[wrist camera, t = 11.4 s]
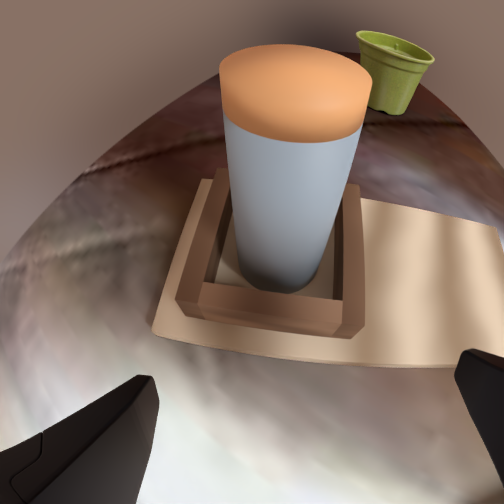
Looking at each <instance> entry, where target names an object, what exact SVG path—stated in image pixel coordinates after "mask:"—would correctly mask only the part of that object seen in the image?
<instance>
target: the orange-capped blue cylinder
mask: <svg viewBox="0 0 504 504" xmlns="http://www.w3.org/2000/svg"><path fill="white" fill-rule="evenodd" d="M219 72H220V83H221V95H222V106H223V117H224V127H225V138H226V149H227V159H228V169H229V179H230V189H231V199H232V208H233V218H234V227H235V237H236V246H237V255H238V263H239V268H240V270H241V273H242V274H243V276H244V277H245V279H246V280H247V281H248V282H249V283H250V284H251V285H252V286H254V287H255V288H257V289H259V290H262V291H269V292H276V293H284V294H290V293H294V292H297V291H299V290H301V289H303V288H304V287H305V286H307V285H308V284H309V283H310V282H311V281H312V280H313V278H314V277H315V275H316V273H317V270H318V267H319V264H320V262H321V259H322V256H323V253H324V250H325V247H326V244H327V241H328V238H329V235H330V232H331V229H332V226H333V223H334V220H335V217H336V214H337V211H338V208H339V205H340V201H341V198H342V195H343V192H344V188H345V185H346V182H347V178H348V175H349V171H350V168H351V165H352V161H353V158H354V154H355V150H356V147H357V143H358V139H359V136H360V132H361V128H362V124H363V120H364V116H365V112H366V108H367V104H368V100H369V96H370V92H371V87H372V78H371V76H370V75H369V73H368V72H367V71H366V70H365V69H364V68H363V67H361V66H360V65H359V64H357V63H356V62H354V61H352V60H350V59H348V58H346V57H344V56H341V55H339V54H336V53H333V52H330V51H326V50H322V49H319V48H313V47H308V46H300V45H287V44H286V45H285V44H284V45H283V44H275V45H262V46H256V47H250V48H246V49H243V50H240V51H237V52H235V53H233V54H231V55H229V56H227V57H226V58H225V59H224V60H223V61H222V62H221V64H220V66H219Z"/></svg>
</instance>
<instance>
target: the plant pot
mask: <svg viewBox="0 0 504 504" xmlns="http://www.w3.org/2000/svg"><path fill="white" fill-rule="evenodd" d="M356 37H357V39H358V40H359V48H360V50H361V67H363V68H364V69H365V70H366V71H367V72H368V73H369V75H370V76H371V78H372V87H371V92H370V96H369V100H368V104H367V106H369V107H371V108H372V109H375V110H382V111H385V112H387V113H388V114H391V115H400V114H403V113H404V112H405V110H406V108H407V106H408V104H409V102H410V100H411V98H412V95H413V93H414V91H415V89H416V87H417V85H418V83H419V81H420V79H421V77H422V75H423V73H424V72H425V71H426V70H427V68H428V66H429V64H432V63H433V62H434V57H433V56H432V55H431V54H429V53H428V52H427V51H425V50H424V49H422V48H420V47H418V46H417V45H415V44H412V43H410V42H408V41H405V40H403V39H400V38H397V37H394V36H391V35H387V34H383V33H378V32H372V31H359V32H357V33H356Z"/></svg>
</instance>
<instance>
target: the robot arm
mask: <svg viewBox="0 0 504 504" xmlns="http://www.w3.org/2000/svg"><path fill="white" fill-rule="evenodd" d="M454 378H455V381H456V383H457V386H458V388H459V390H460V392H461V395H462V397H463V399H464V402H465V404H466V407H467V409H468V411H469V414H470V416H471V418H472V420H473V422H474V424H475V426H476V428H477V430H478V432H479V434H480V436H481V438H482V440H483V442H484V444H485V446H486V448H487V450H488V453H489V455H490V457H491V459H492V461H493V464H494V466H495V468H496V470H497V473H498V475H499V478H500V480H501V482H502V485H503V487H504V357H501V356H497V355H494V354H491V353H488V352H485V351H481V350H478V349H475V348H470V349H467V350H464V351H462V353H461V355H460V358H459V361H458V364H457V367H456V369H455V373H454ZM158 410H159V397H158V393H157V389H156V385H155V381H154V379H153V377H152V376H149V375H136V376H135V377H133V378H131V379H130V380H128V381H127V382H125V383H123V384H122V385H120V386H118V387H117V388H115V389H114V390H112V391H110V392H109V393H107V394H105V395H104V396H102V397H100V398H99V399H97V400H96V401H94V402H92V403H90V404H89V405H87V406H85V407H84V408H82V409H80V410H79V411H77V412H75V413H74V414H72V415H70V416H68V417H67V418H65V419H63V420H61V421H60V422H58V423H56V424H54V425H53V426H51V427H49V428H47V429H46V430H44V431H43V433H42V432H40V433H38V434H37V435H35V436H33V437H31V438H29V439H27V440H25V441H23V442H21V443H19V444H17V445H15V446H13V447H11V448H9V449H6V450H4V451H2V452H0V504H136V501H137V498H138V494H139V491H140V487H141V484H142V480H143V477H144V474H145V470H146V467H147V464H148V461H149V457H150V454H151V449H152V444H153V438H154V432H155V427H156V421H157V416H158Z"/></svg>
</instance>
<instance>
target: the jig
mask: <svg viewBox="0 0 504 504" xmlns="http://www.w3.org/2000/svg"><path fill="white" fill-rule="evenodd" d="M151 331H152V332H153V333H154V334H155V335H156V336H160V337H164V338H168V339H173V340H177V341H182V342H186V343H191V344H196V345H201V346H206V347H211V348H217V349H222V350H228V351H234V352H240V353H246V354H252V355H259V356H266V357H273V358H280V359H288V360H297V361H306V362H315V363H326V364H338V365H351V366H368V367H393V368H448V367H457V364H458V361H459V358H460V355H461V353H462V351H464V350H467V349H470V348H475V349H478V350H481V351H485V352H488V353H491V354H494V355H497V356H501V357H504V252H503V249H502V245H501V242H500V239H499V236H498V232H497V229H496V227H492V226H488V225H484V224H481V223H477V222H473V221H469V220H465V219H461V218H456V217H452V216H448V215H444V214H439V213H435V212H430V211H425V210H421V209H416V208H411V207H406V206H401V205H396V204H391V203H385V202H380V201H375V200H369V199H363V198H360V188H359V185H354V184H348V183H346V185H345V188H344V192H343V195H342V198H341V201H340V205H339V208H338V211H337V214H336V217H335V220H334V223H333V226H332V229H331V232H330V235H329V238H328V241H327V244H326V247H325V250H324V253H323V256H322V259H321V262H320V264H319V267H318V270H317V273H316V275H315V277H314V278H313V280H312V281H311V282H310V283H309V284H308V285H307V286H305V287H304V288H303V289H301V290H299V291H297V292H294V293H290V294H284V293H276V292H269V291H262V290H259V289H257V288H255V287H254V286H252V285H251V284H250V283H249V282H248V281H247V280H246V279H245V277H244V276H243V274H242V273H241V270H240V268H239V263H238V255H237V246H236V237H235V227H234V218H233V208H232V199H231V189H230V179H229V169H228V168H217V170H216V173H215V176H214V179H202V180H201V183H200V185H199V188H198V190H197V193H196V196H195V198H194V201H193V204H192V206H191V209H190V212H189V215H188V217H187V220H186V223H185V226H184V228H183V231H182V234H181V237H180V240H179V243H178V246H177V249H176V252H175V255H174V258H173V261H172V264H171V267H170V270H169V273H168V276H167V279H166V282H165V285H164V289H163V292H162V295H161V298H160V302H159V305H158V308H157V312H156V315H155V318H154V322H153V325H152V329H151Z"/></svg>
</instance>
